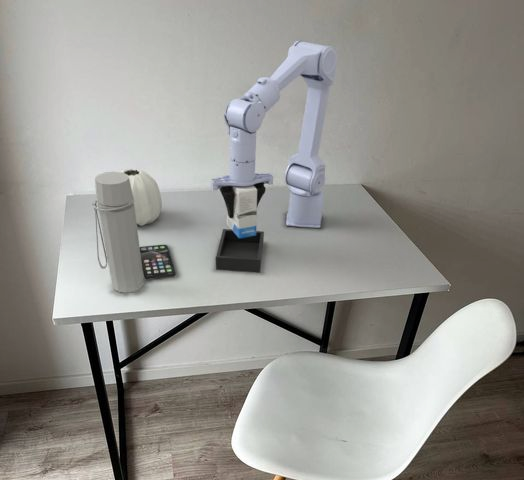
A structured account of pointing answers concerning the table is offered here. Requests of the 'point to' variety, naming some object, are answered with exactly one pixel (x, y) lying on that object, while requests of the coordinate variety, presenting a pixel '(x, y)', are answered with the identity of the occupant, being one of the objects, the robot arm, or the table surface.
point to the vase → (144, 196)
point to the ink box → (244, 211)
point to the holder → (240, 252)
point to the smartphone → (156, 262)
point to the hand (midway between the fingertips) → (241, 215)
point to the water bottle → (119, 231)
